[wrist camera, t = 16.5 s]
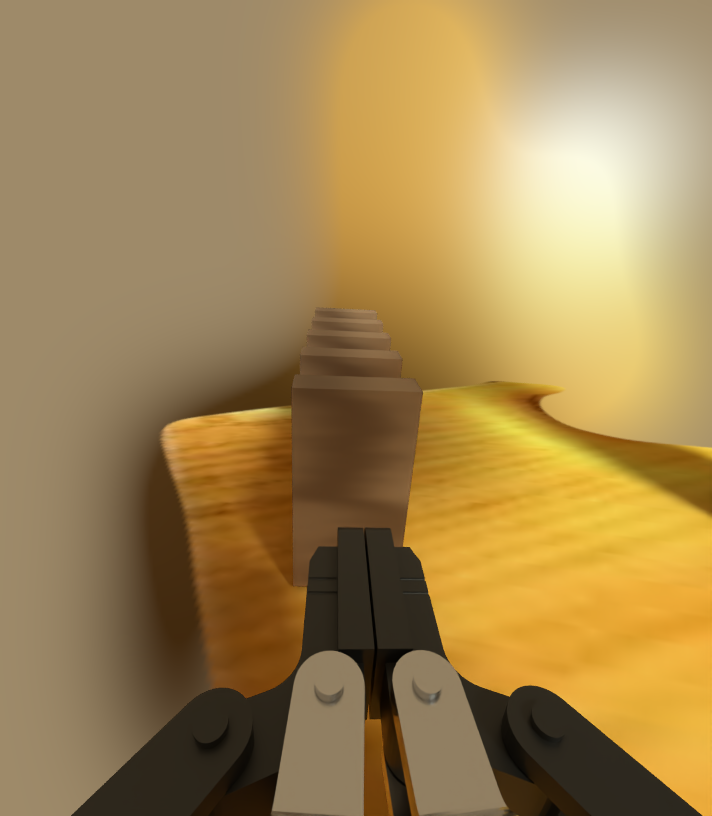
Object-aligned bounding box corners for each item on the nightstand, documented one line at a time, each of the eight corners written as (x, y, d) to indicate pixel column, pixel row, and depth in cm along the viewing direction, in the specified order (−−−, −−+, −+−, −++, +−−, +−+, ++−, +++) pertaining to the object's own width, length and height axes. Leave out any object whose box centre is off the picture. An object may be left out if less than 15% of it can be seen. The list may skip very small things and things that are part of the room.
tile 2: (382, 506, 24) (397, 351, 21) (385, 523, 23) (402, 359, 19) (302, 504, 24) (302, 346, 20) (300, 522, 23) (300, 355, 19)
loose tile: (392, 560, 20) (414, 378, 16) (397, 585, 19) (422, 392, 15) (296, 560, 20) (295, 374, 16) (293, 586, 18) (291, 387, 15)
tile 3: (375, 468, 29) (387, 333, 25) (377, 480, 27) (390, 338, 23) (307, 466, 28) (308, 329, 24) (305, 478, 27) (307, 334, 23)
